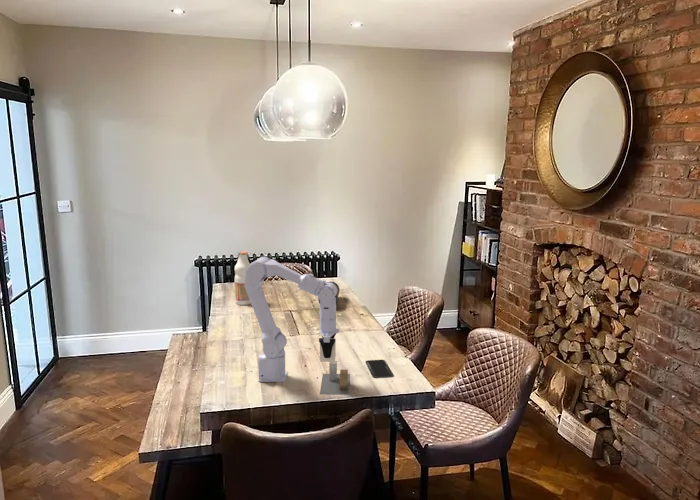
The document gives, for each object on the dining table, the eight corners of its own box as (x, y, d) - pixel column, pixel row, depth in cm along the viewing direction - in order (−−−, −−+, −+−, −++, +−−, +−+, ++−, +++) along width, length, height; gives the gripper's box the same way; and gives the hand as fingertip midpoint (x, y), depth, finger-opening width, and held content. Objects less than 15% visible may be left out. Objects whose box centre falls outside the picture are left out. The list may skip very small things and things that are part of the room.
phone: (373, 377, 182) (365, 360, 196) (373, 380, 182) (364, 363, 196) (394, 376, 183) (384, 359, 197) (394, 378, 183) (384, 362, 198)
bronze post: (339, 390, 172) (340, 372, 171) (340, 386, 175) (340, 369, 174) (347, 390, 172) (347, 372, 171) (347, 386, 175) (347, 369, 174)
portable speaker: (336, 310, 260) (336, 292, 258) (317, 310, 260) (317, 291, 258) (339, 296, 285) (340, 279, 283) (322, 296, 285) (322, 279, 283)
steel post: (329, 380, 179) (329, 364, 178) (329, 377, 182) (329, 361, 180) (336, 380, 179) (336, 364, 178) (336, 377, 182) (337, 361, 180)
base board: (319, 395, 169) (319, 394, 169) (322, 374, 185) (322, 373, 185) (349, 395, 169) (349, 394, 169) (349, 375, 185) (349, 374, 185)
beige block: (320, 361, 175) (320, 343, 174) (321, 355, 180) (321, 338, 179) (334, 361, 175) (334, 343, 174) (335, 355, 180) (335, 338, 179)
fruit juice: (231, 303, 269) (229, 252, 264) (243, 299, 277) (242, 249, 272) (244, 306, 264) (243, 254, 259) (256, 302, 272) (255, 251, 267)
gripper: (338, 324, 167) (338, 363, 170) (340, 311, 182) (340, 346, 184) (317, 324, 167) (317, 362, 170) (320, 310, 182) (320, 346, 184)
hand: (327, 354), depth 177 cm, fingers closed on beige block, 5 cm apart
